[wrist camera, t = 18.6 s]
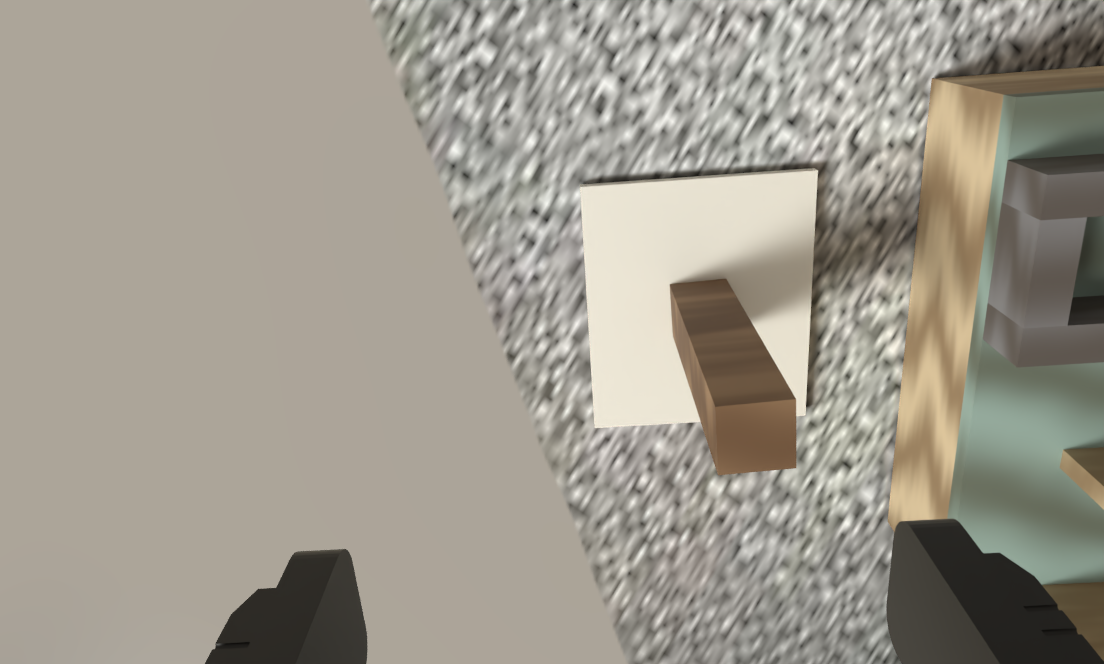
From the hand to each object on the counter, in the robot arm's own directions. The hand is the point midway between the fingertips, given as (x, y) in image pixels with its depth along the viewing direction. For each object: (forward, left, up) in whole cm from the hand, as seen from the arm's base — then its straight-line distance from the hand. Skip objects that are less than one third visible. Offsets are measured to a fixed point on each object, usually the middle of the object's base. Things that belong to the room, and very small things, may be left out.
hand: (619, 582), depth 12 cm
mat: (+8, +6, -32) cm, 34 cm away
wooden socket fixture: (+10, +24, -32) cm, 42 cm away
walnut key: (+8, +6, -32) cm, 33 cm away
